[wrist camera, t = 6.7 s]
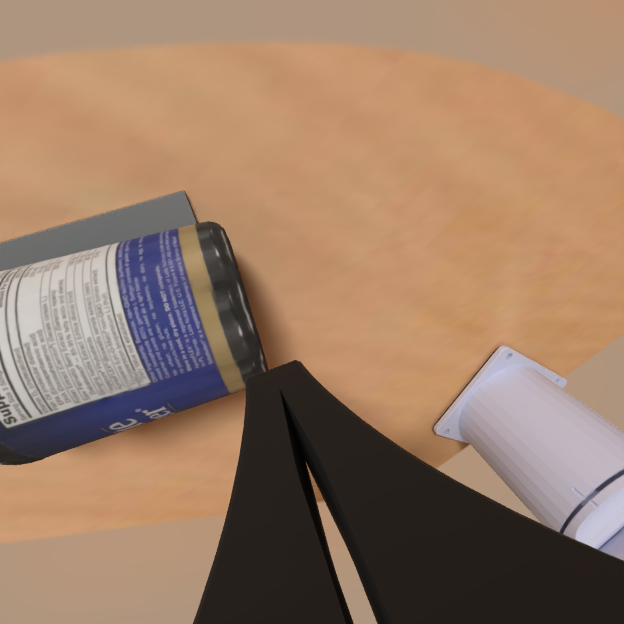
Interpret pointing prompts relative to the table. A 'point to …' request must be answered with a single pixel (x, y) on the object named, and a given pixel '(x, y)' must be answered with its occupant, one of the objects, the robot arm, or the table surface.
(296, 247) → the table surface
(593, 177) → the table surface
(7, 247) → the rubber mat
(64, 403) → the pill bottle
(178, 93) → the table surface
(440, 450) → the table surface
